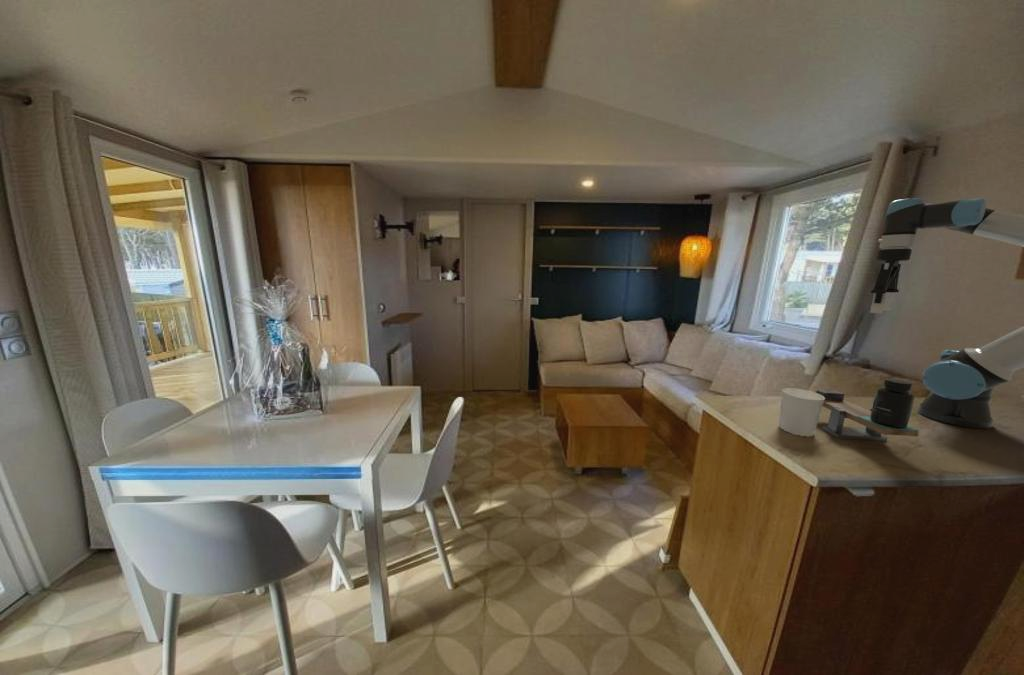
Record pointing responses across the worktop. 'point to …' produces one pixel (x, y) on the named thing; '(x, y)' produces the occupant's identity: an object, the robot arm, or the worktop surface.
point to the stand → (849, 428)
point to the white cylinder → (800, 411)
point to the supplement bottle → (893, 404)
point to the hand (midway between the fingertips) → (880, 312)
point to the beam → (861, 414)
